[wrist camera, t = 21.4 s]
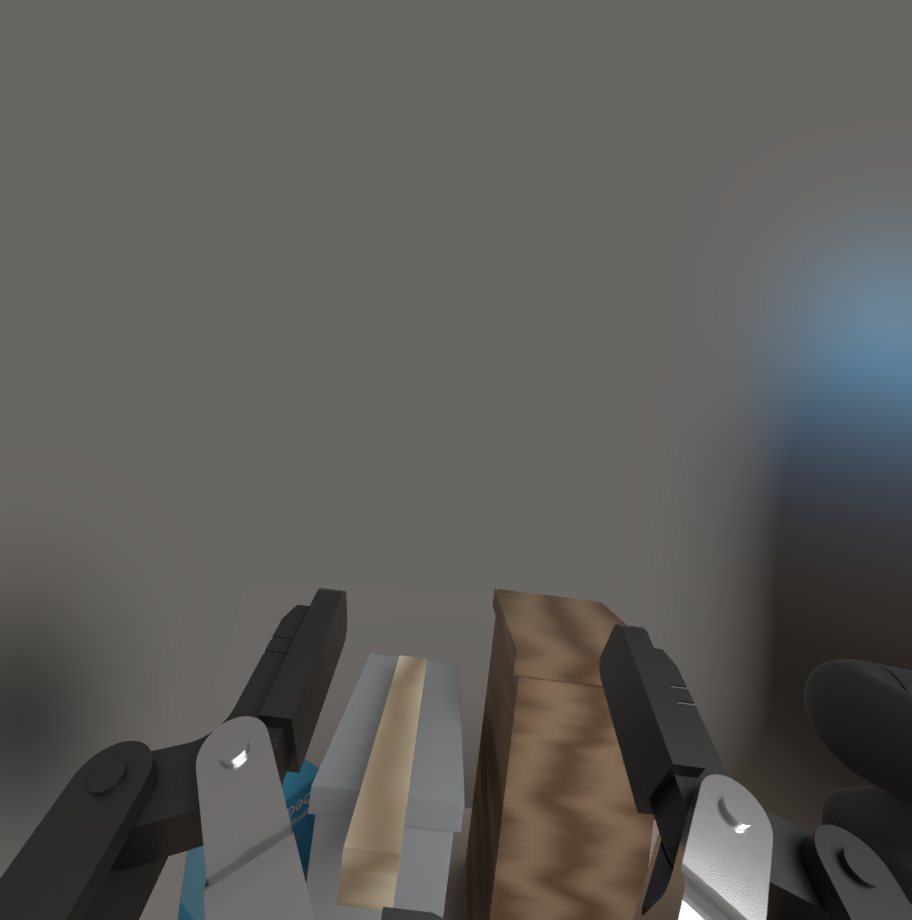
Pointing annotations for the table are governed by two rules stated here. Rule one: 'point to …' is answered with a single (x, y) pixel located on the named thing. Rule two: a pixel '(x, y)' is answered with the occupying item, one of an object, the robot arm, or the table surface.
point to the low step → (429, 799)
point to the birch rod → (384, 797)
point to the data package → (302, 825)
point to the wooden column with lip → (552, 773)
